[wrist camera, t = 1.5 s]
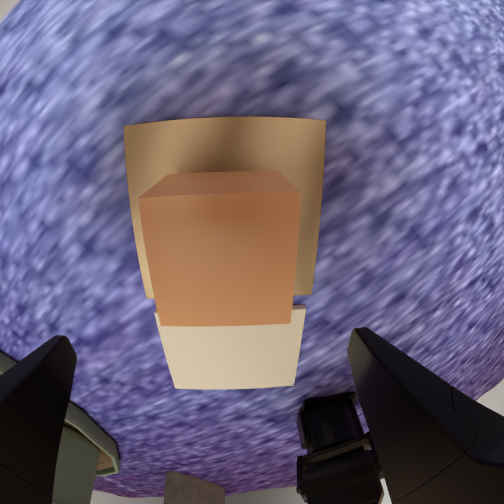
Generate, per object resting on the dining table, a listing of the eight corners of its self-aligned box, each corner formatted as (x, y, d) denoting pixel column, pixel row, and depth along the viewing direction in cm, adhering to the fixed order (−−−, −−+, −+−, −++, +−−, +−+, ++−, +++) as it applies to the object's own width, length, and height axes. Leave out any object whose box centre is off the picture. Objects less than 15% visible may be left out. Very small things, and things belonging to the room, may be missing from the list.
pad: (304, 304, 22) (305, 309, 22) (292, 381, 27) (293, 385, 26) (155, 308, 21) (154, 312, 21) (176, 384, 26) (175, 388, 25)
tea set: (-42, 285, 20) (-107, 362, 5) (166, 452, 35) (159, 538, 20) (-49, 368, 28) (-75, 414, 13) (75, 466, 43) (64, 514, 28)
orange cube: (279, 171, 15) (301, 193, 10) (275, 270, 17) (290, 323, 13) (167, 174, 14) (138, 198, 10) (177, 273, 17) (160, 326, 12)
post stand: (318, 120, 16) (372, 121, 9) (306, 283, 21) (335, 352, 15) (131, 125, 15) (72, 130, 9) (151, 287, 21) (123, 357, 14)
